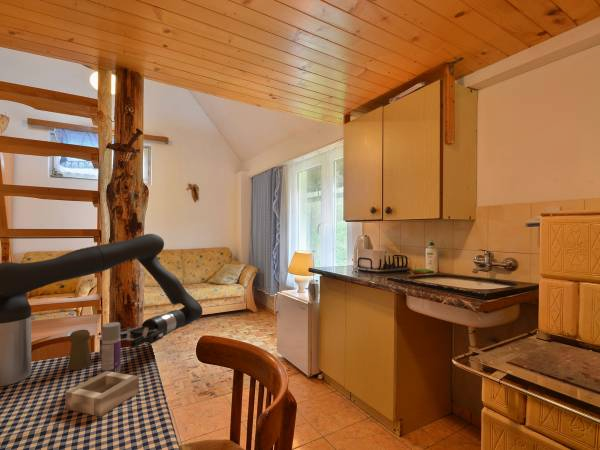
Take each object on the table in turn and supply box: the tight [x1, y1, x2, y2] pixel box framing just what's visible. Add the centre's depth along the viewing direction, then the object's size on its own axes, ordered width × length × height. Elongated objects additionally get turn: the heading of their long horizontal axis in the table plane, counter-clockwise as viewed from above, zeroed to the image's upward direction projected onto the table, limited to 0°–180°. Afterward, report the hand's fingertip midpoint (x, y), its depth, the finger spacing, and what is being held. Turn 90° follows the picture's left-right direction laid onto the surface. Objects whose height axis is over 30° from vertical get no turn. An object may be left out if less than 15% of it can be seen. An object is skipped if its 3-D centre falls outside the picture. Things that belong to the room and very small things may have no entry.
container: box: [101, 321, 122, 373], centre depth 89 cm, size 5×5×15 cm
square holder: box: [64, 371, 140, 417], centre depth 77 cm, size 11×11×4 cm
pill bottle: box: [99, 330, 102, 358], centre depth 103 cm, size 5×5×8 cm
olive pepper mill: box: [67, 329, 92, 371], centre depth 95 cm, size 6×6×11 cm
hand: (120, 342), depth 92 cm, fingers open, 8 cm apart
